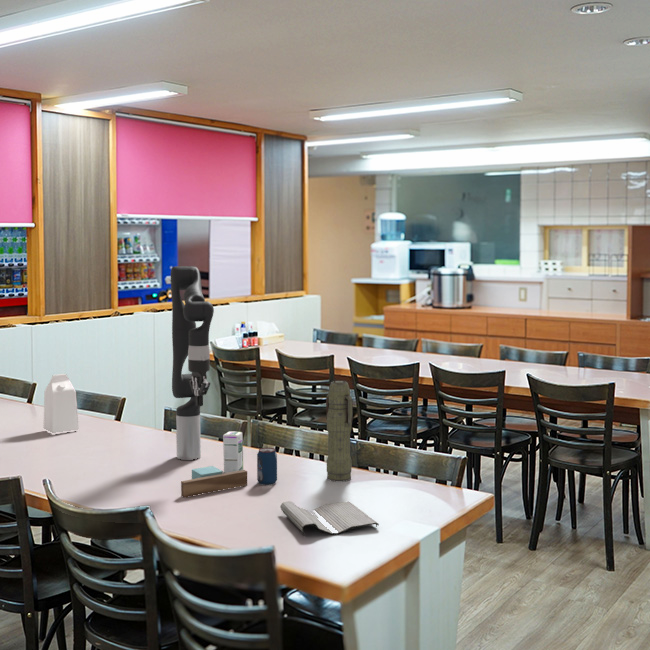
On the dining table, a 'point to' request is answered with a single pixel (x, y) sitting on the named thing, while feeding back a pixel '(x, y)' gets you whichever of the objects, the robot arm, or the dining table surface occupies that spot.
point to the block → (205, 472)
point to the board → (213, 483)
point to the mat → (328, 516)
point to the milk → (60, 405)
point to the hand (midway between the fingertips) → (199, 405)
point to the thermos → (339, 431)
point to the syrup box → (233, 451)
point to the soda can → (267, 466)
